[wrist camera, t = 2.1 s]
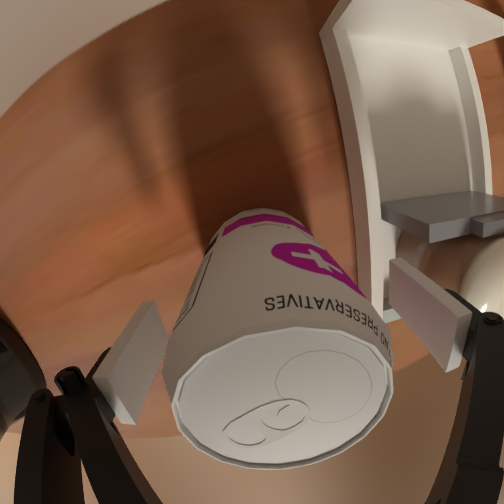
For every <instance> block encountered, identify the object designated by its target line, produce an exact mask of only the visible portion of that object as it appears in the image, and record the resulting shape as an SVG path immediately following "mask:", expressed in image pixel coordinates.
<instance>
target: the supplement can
mask: <svg viewBox="0 0 504 504" xmlns="http://www.w3.org/2000/svg"><path fill="white" fill-rule="evenodd" d="M392 365H393V355H392V345H391V337H390V330H389V329H388V327H387V326H386V324H385V323H384V321H383V320H382V319H381V317H380V316H379V314H378V313H377V311H376V310H375V308H374V307H373V306H372V304H371V303H370V302H369V300H368V299H367V298H366V297H365V296H364V294H363V293H362V292H361V291H360V290H359V288H358V287H357V286H356V285H355V284H354V282H353V281H352V280H351V279H350V278H349V276H348V275H347V274H346V273H345V272H344V271H343V269H342V268H341V267H340V266H339V265H338V264H337V262H336V261H335V260H334V259H333V258H332V257H331V255H330V254H329V253H328V252H327V251H326V250H325V249H324V247H323V246H322V245H321V244H320V243H319V242H318V241H317V240H316V238H315V237H314V236H313V235H312V234H311V233H310V232H309V231H308V230H307V228H306V227H305V226H304V225H303V224H302V223H301V222H300V221H299V220H297V219H296V218H294V217H292V216H290V215H289V214H287V213H285V212H283V211H280V210H274V209H268V208H257V209H252V210H247V211H242V212H240V213H239V214H237V215H235V216H233V217H232V218H230V219H228V220H227V221H225V222H224V223H223V224H222V226H221V227H220V228H219V229H218V231H217V232H216V233H215V234H214V236H213V237H212V239H211V241H210V244H209V246H208V248H207V250H206V253H205V255H204V257H203V260H202V262H201V264H200V267H199V269H198V271H197V274H196V276H195V278H194V281H193V283H192V285H191V288H190V290H189V293H188V295H187V297H186V300H185V302H184V305H183V307H182V309H181V312H180V314H179V317H178V319H177V322H176V324H175V327H174V329H173V332H172V334H171V337H170V339H169V343H168V347H167V351H166V356H165V360H164V364H163V369H162V374H163V378H164V381H165V385H166V389H167V393H168V396H169V400H170V402H171V404H172V405H171V407H172V411H173V414H174V417H175V421H176V424H177V427H178V430H179V431H180V432H181V433H182V434H183V435H184V436H185V437H186V439H187V440H188V441H189V442H190V443H191V444H192V445H193V446H194V447H195V448H196V449H198V450H200V451H201V452H203V453H205V454H207V455H209V456H210V457H212V458H214V459H216V460H218V461H220V462H223V463H227V464H231V465H235V466H239V467H243V468H248V469H262V470H283V469H289V468H296V467H301V466H306V465H312V464H314V463H317V462H320V461H322V460H325V459H328V458H330V457H332V456H335V455H338V454H340V453H342V452H343V451H345V450H346V449H348V448H349V447H351V446H353V445H354V444H355V443H357V442H358V441H360V440H361V439H363V438H364V437H365V436H366V435H367V434H368V433H369V432H370V431H371V430H372V429H373V428H374V427H375V425H376V424H377V423H378V422H379V421H380V420H381V418H382V417H383V416H384V414H385V412H386V410H387V407H388V405H389V402H390V400H391V397H392V395H393V392H394V391H393V379H392Z"/></svg>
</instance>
